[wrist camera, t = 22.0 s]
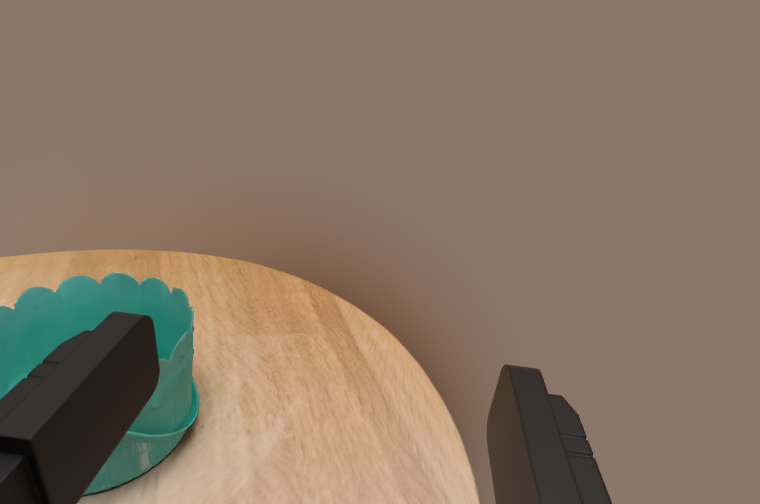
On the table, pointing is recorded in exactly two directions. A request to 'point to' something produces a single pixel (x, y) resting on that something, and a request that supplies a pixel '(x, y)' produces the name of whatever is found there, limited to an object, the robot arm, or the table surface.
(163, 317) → the basket
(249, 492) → the table surface
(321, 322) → the table surface
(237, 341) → the table surface
